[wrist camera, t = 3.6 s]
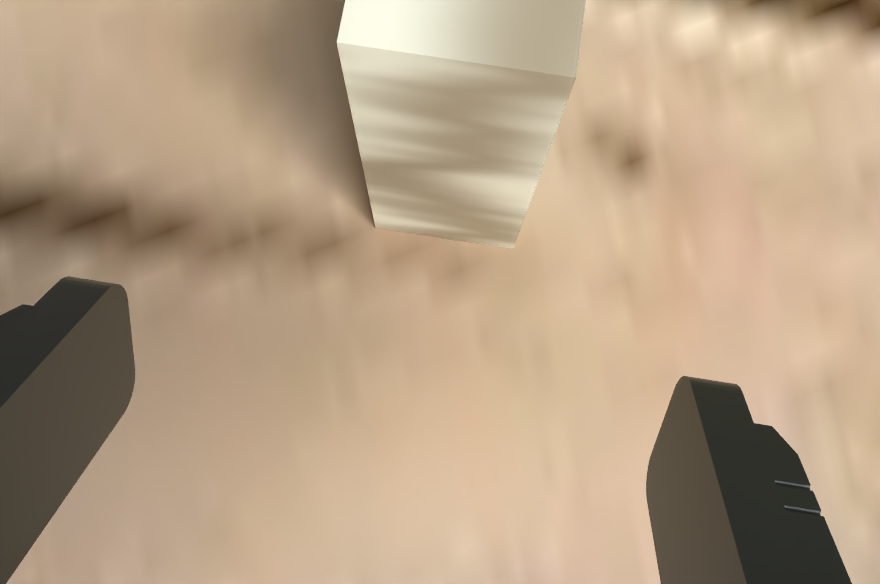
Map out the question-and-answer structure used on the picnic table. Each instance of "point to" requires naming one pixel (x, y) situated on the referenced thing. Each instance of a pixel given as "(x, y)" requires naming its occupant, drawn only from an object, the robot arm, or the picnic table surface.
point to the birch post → (457, 108)
